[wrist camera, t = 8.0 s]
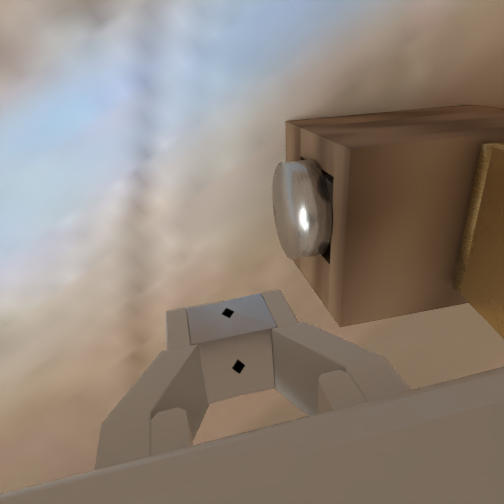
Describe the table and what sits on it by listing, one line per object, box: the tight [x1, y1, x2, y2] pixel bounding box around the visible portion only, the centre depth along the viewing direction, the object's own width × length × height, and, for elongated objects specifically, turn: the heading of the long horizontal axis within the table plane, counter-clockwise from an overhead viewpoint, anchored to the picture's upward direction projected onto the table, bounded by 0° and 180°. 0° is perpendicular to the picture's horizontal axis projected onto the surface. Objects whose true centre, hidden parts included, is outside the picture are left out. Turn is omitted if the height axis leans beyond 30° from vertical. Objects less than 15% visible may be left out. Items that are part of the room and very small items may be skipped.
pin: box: [272, 160, 334, 259], centre depth 17 cm, size 16×4×4 cm, turn 93°
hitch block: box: [286, 105, 504, 327], centre depth 18 cm, size 10×7×7 cm
